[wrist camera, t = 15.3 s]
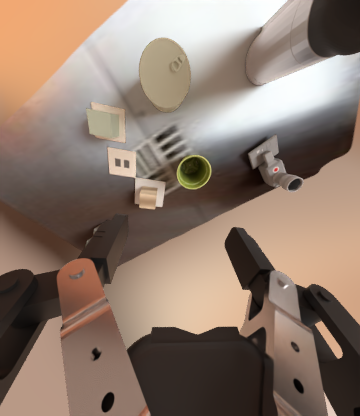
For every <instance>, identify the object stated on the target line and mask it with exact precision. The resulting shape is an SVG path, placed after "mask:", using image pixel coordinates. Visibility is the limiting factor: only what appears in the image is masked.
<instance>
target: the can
mask: <svg viewBox="0 0 360 416" xmlns="http://www.w3.org/2000/svg"><path fill="white" fill-rule="evenodd" d="M139 77H140V82H141V86H142V88H143V91H144V93H145V94H146V96H147V97H148V99H149V100H150V101H151V102H152V104H153V105H154V106H155V107H156V108H157V109H158V110H160V111H162V112H172V111H174V110H176V109H177V108H178V107H179V106H180V105H181V103H182V101H183V99H184V98H185V96H186V95H187V92H188V90H189V86H190V80H191V71H190V65H189V61H188V58H187V56H186V54H185V52H184V51H183V49H182V48H181V47H180V46H179V44H177V43H176V42H175V41H173V40H171V39H168V38H158V39H155V40H153V41H152V42H150V43H149V44H148V45H147V46H146V48H145V49H144V51H143V53H142V56H141V59H140V64H139Z"/></svg>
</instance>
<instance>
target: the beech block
mask: <svg viewBox="0 0 360 416" xmlns="http://www.w3.org/2000/svg"><path fill="white" fill-rule="evenodd" d="M157 190H158V188H154V187H147V186H143V187H142V190H141V192H140V204H139V208H148V209H155V206H156V199H157Z"/></svg>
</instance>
